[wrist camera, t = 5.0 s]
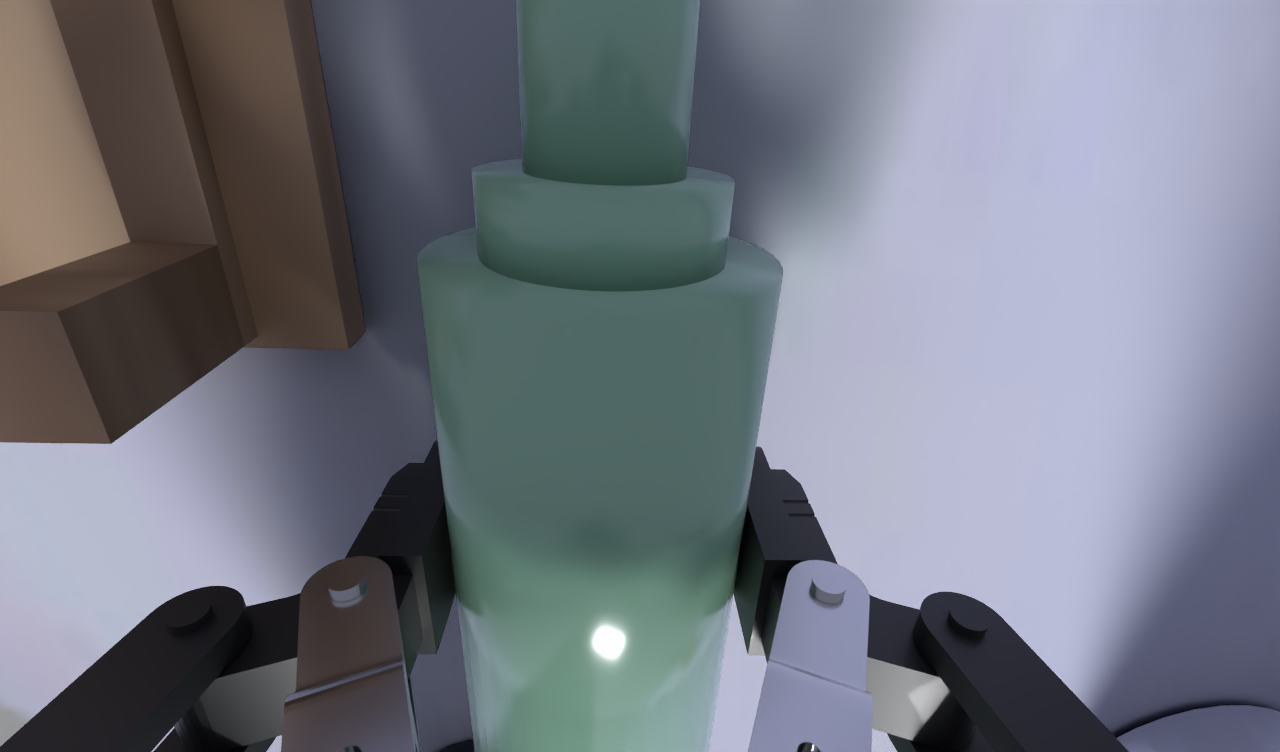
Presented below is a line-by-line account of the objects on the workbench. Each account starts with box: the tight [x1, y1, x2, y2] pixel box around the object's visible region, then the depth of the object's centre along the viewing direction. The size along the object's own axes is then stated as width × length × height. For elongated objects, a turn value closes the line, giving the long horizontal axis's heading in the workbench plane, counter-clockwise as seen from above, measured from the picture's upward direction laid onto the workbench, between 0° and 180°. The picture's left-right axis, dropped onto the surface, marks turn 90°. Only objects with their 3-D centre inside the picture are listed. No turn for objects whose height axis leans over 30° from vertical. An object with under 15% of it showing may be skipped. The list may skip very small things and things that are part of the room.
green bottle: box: [417, 0, 783, 752], centre depth 11 cm, size 16×6×6 cm, turn 177°
